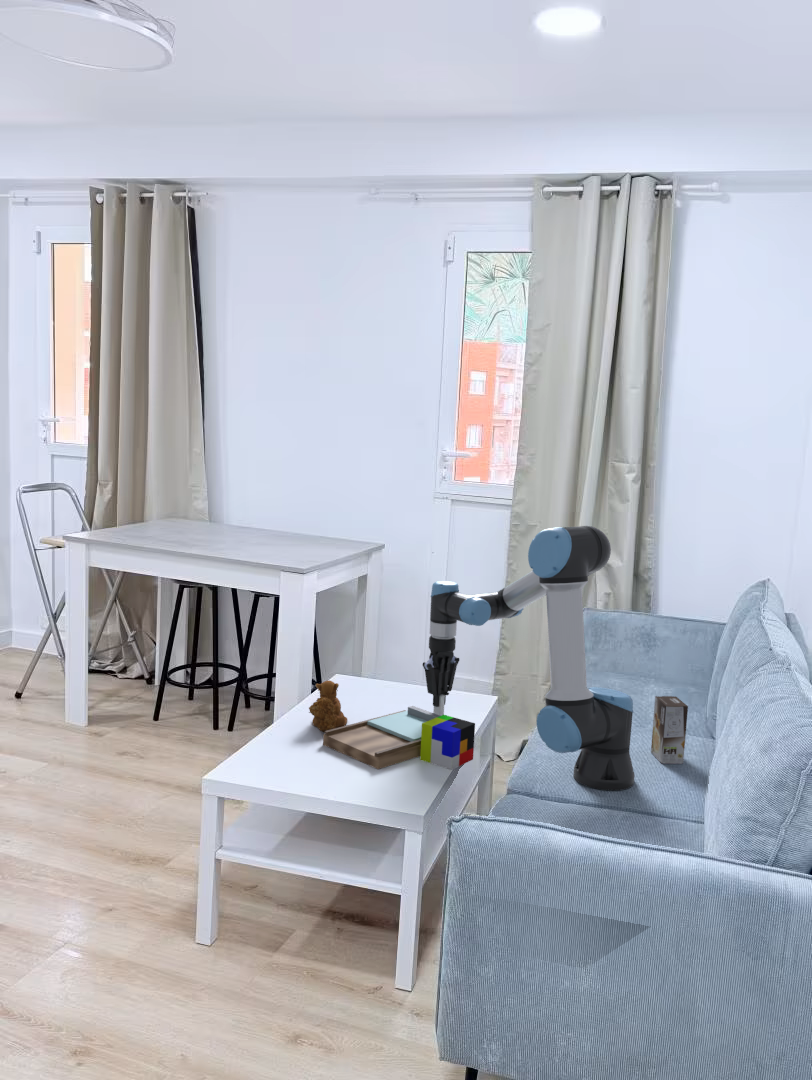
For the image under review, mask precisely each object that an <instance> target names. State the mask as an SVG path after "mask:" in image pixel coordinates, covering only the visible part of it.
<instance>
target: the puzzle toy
mask: <svg viewBox="0 0 812 1080" xmlns="http://www.w3.org/2000/svg"><path fill="white" fill-rule="evenodd" d="M475 729H476V723H475V722H472V721H468V720H464V719H461V718H458V717H454V716H451V715H446V714H444V715H442V716H439V717H437V718H434V719H432V720H429V721H427V722H424V723H422V733H421V753H420V756H419V757H420V759H419V760H420V761H421V762H426V763H428V764H429V763H430V764H432V765H435V766H439V767H441V768H445V769H448V770H450V771H451V770H454V769H457V768H459V767H461V766H462V765H465V764H466V763H470V762H471V761H473V760H474V751H475V750H474V749H475V731H476V730H475Z"/></svg>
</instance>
